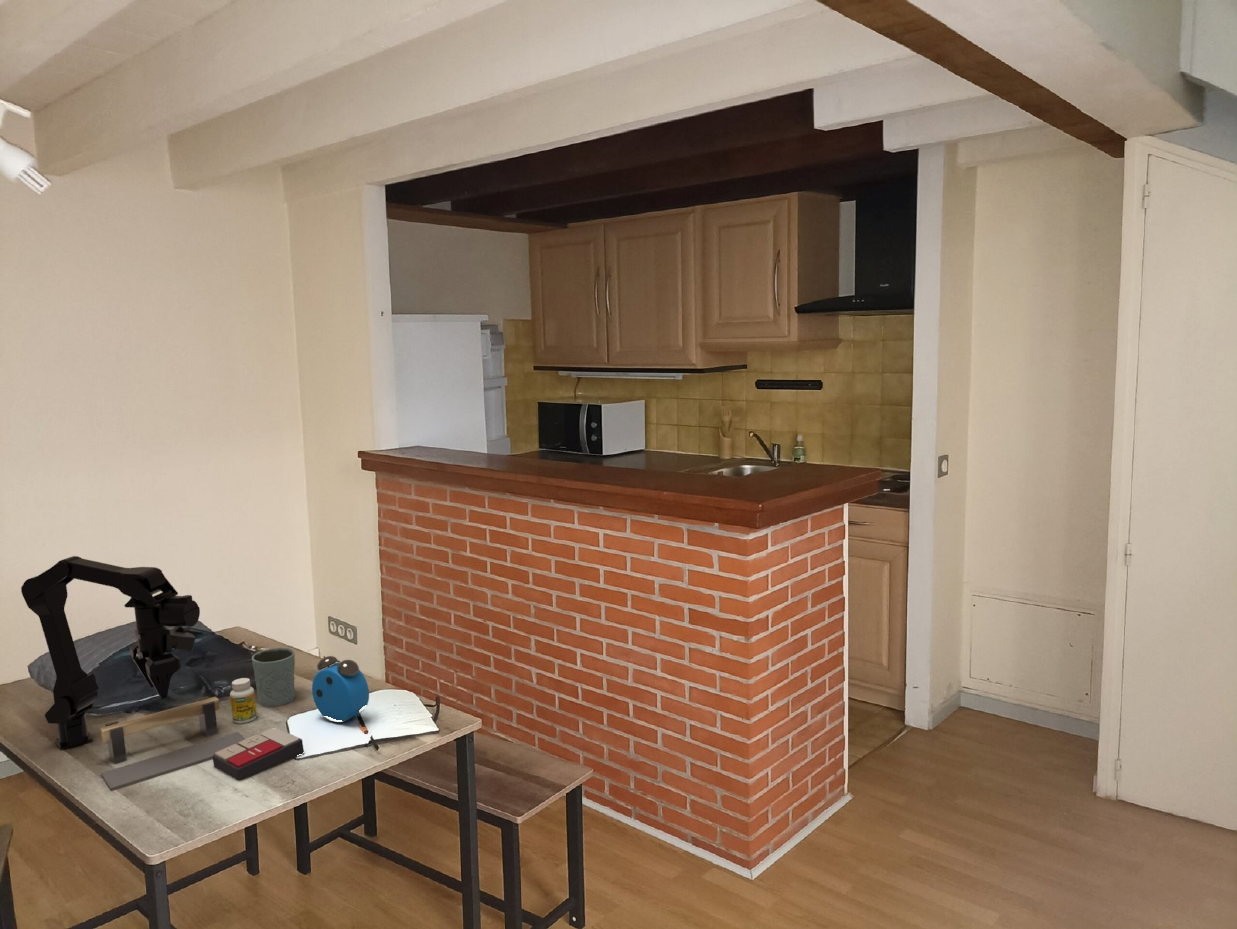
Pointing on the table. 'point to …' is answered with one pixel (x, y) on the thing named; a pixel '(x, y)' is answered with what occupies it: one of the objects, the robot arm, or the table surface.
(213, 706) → the bracket
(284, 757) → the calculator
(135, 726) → the beech rail
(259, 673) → the green plant pot
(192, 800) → the table surface
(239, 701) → the supplement bottle
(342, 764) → the table surface
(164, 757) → the rubber mat
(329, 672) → the alarm clock
